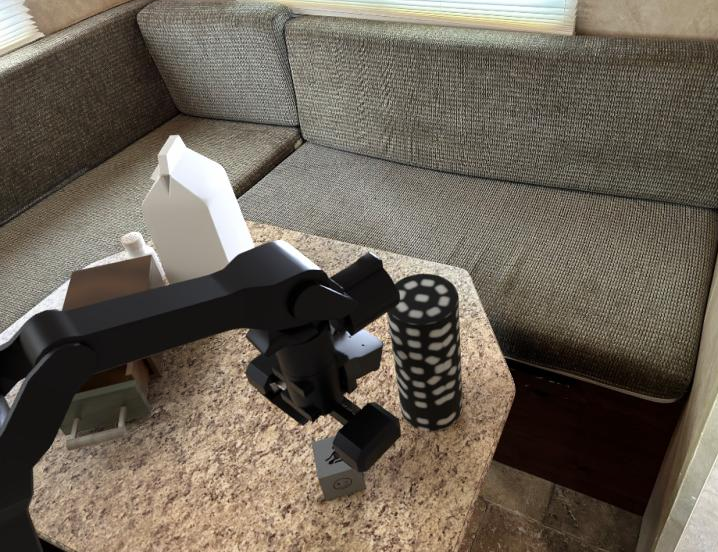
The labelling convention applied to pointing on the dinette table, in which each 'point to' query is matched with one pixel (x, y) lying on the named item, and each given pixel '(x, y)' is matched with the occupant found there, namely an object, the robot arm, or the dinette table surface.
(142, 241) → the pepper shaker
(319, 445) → the dice cube
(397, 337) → the spotted tube
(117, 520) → the dinette table surface
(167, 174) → the milk
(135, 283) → the cabinet
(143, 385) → the drawer
